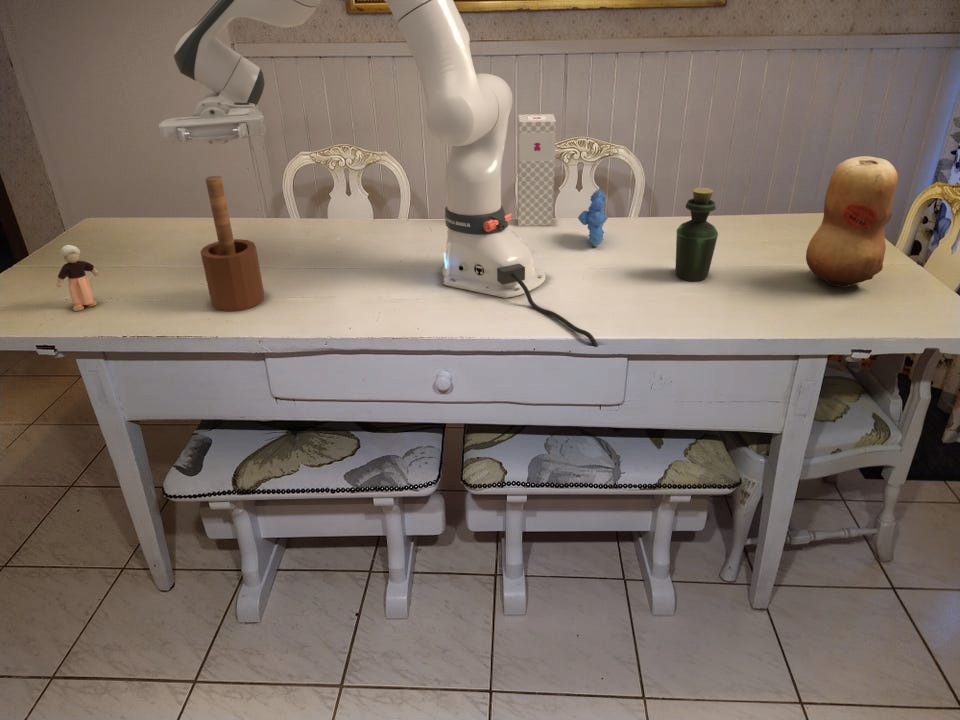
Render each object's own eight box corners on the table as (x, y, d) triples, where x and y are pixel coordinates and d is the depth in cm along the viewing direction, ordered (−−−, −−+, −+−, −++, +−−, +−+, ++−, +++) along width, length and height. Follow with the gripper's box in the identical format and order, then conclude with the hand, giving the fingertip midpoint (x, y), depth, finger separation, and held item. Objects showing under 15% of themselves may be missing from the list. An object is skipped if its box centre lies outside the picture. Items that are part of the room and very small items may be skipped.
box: (517, 214, 188) (518, 114, 176) (550, 214, 188) (553, 114, 176) (518, 225, 181) (519, 122, 168) (552, 225, 181) (556, 121, 168)
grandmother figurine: (74, 314, 140) (54, 253, 134) (63, 310, 142) (42, 249, 136) (110, 300, 146) (92, 240, 140) (99, 296, 148) (81, 236, 142)
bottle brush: (254, 296, 145) (232, 177, 133) (233, 304, 142) (208, 183, 130) (240, 290, 148) (217, 172, 136) (219, 298, 145) (194, 178, 133)
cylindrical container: (274, 298, 145) (265, 246, 140) (231, 316, 139) (219, 262, 133) (245, 286, 151) (235, 235, 146) (202, 302, 145) (190, 250, 139)
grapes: (577, 233, 175) (579, 184, 169) (605, 234, 174) (608, 184, 168) (576, 251, 165) (578, 199, 159) (606, 251, 164) (610, 199, 158)
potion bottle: (718, 274, 152) (731, 189, 143) (699, 286, 147) (712, 199, 138) (683, 264, 157) (694, 182, 148) (663, 276, 152) (673, 191, 143)
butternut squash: (801, 292, 144) (829, 165, 131) (800, 267, 155) (825, 148, 142) (879, 301, 139) (915, 171, 127) (872, 275, 150) (905, 152, 138)
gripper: (158, 109, 148) (150, 123, 137) (262, 102, 153) (262, 115, 141) (166, 141, 152) (158, 156, 140) (267, 133, 156) (268, 148, 144)
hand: (211, 135), depth 141 cm, fingers open, 8 cm apart
